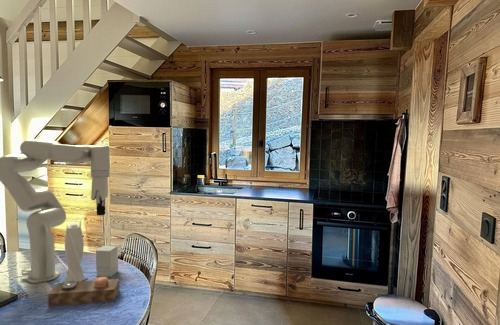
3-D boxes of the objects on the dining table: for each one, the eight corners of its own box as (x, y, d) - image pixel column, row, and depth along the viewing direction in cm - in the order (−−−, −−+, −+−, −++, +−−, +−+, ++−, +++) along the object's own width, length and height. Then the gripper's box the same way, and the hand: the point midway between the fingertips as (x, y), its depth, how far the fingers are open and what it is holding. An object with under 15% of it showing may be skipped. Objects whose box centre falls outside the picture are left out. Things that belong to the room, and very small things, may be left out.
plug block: (48, 306, 126) (48, 294, 125) (58, 294, 135) (58, 282, 135) (114, 301, 130) (114, 289, 130) (119, 290, 140) (119, 278, 140)
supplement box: (118, 271, 160) (118, 245, 159) (110, 277, 153) (110, 251, 152) (104, 270, 161) (104, 245, 160) (95, 276, 153) (95, 250, 153)
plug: (60, 302, 129) (59, 287, 128) (65, 296, 134) (64, 281, 133) (74, 301, 130) (74, 286, 129) (78, 295, 135) (78, 280, 134)
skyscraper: (90, 279, 150) (88, 219, 148) (75, 286, 143) (74, 223, 141) (75, 276, 153) (74, 218, 151) (60, 283, 145) (59, 222, 143)
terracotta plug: (92, 297, 131) (92, 282, 130) (96, 291, 136) (96, 277, 135) (106, 296, 132) (106, 281, 131) (109, 290, 137) (109, 276, 136)
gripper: (95, 172, 150) (96, 211, 151) (86, 175, 136) (87, 219, 137) (113, 172, 152) (113, 210, 153) (105, 175, 137) (106, 218, 138)
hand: (101, 214), depth 145 cm, fingers closed
